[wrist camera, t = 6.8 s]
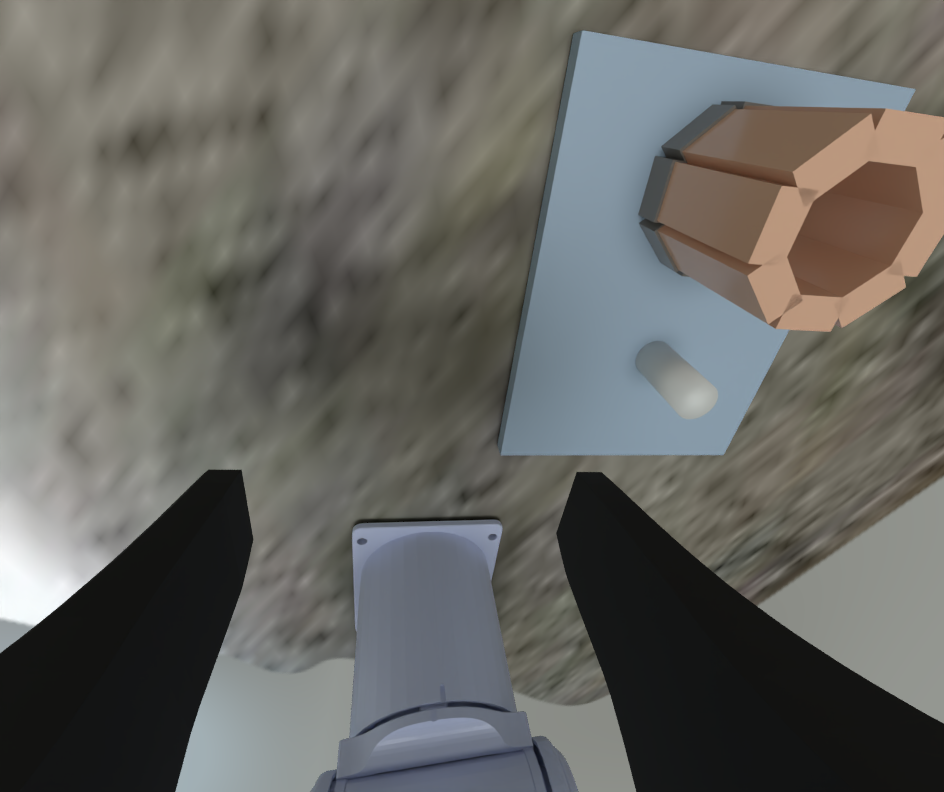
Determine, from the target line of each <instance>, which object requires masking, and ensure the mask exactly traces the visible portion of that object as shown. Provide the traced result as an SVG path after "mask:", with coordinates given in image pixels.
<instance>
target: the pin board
mask: <svg viewBox="0 0 944 792" xmlns="http://www.w3.org/2000/svg"><path fill="white" fill-rule="evenodd" d="M915 90H916V89H911V88H906V87H900V86H894V85H889V84H883V83H877V82H872V81H866V80H860V79H855V78H849V77H843V76H838V75H832V74H826V73H821V72H815V71H810V70H804V69H798V68H793V67H787V66H781V65H776V64H770V63H764V62H759V61H753V60H747V59H742V58H736V57H730V56H725V55H719V54H713V53H708V52H702V51H697V50H691V49H685V48H680V47H674V46H668V45H663V44H657V43H651V42H646V41H640V40H634V39H629V38H623V37H617V36H612V35H606V34H601V33H595V32H589V31H584V30H582V31H579V32H576V33H574V34H573V39H572V44H571V50H570V55H569V60H568V66H567V71H566V77H565V82H564V87H563V93H562V98H561V104H560V109H559V114H558V120H557V125H556V131H555V136H554V141H553V147H552V152H551V158H550V163H549V169H548V174H547V179H546V185H545V190H544V196H543V201H542V206H541V212H540V217H539V223H538V228H537V233H536V239H535V244H534V250H533V255H532V260H531V266H530V271H529V277H528V282H527V288H526V293H525V298H524V304H523V309H522V315H521V320H520V325H519V331H518V336H517V342H516V347H515V352H514V358H513V363H512V369H511V374H510V379H509V385H508V390H507V396H506V401H505V407H504V412H503V417H502V423H501V428H500V434H499V439H498V444H497V445H498V448H499V452H500V455H724V453H725V451H726V449H727V447H728V445H729V444H730V442H731V440H732V438H733V436H734V434H735V432H736V430H737V428H738V426H739V425H740V423H741V421H742V419H743V417H744V415H745V413H746V411H747V409H748V407H749V406H750V404H751V402H752V400H753V398H754V396H755V394H756V392H757V390H758V388H759V387H760V385H761V383H762V381H763V379H764V377H765V375H766V373H767V371H768V369H769V367H770V366H771V364H772V362H773V360H774V358H775V356H776V354H777V352H778V350H779V348H780V347H781V345H782V343H783V341H784V339H785V337H786V335H787V333H788V331H789V330H787V329H775V328H773V327H772V326H770V325H768V324H767V323H765V322H763V321H762V320H760V319H758V318H757V317H755V316H753V315H752V314H750V313H748V312H747V311H745V310H743V309H742V308H740V307H739V306H737V305H735V304H734V303H732V302H730V301H729V300H727V299H725V298H724V297H722V296H720V295H719V294H717V293H715V292H714V291H712V290H710V289H709V288H707V287H705V286H704V285H702V284H701V283H699V282H697V281H696V280H694V279H692V278H691V277H684V276H681V275H679V274H678V273H676V272H674V271H673V270H671V269H669V268H668V267H666V266H665V265H663V264H661V263H660V261H659V260H658V258H657V256H656V254H655V252H654V250H653V249H652V247H651V245H650V243H649V241H648V240H647V238H646V236H645V234H644V232H643V230H642V229H641V227H640V225H639V223H640V222H641V221H642V220H644V219H645V218H644V217H642V216H639V215H638V213H639V210H640V206H641V203H642V199H643V196H644V192H645V189H646V185H647V182H648V179H649V175H650V172H651V168H652V165H653V161H654V158H655V156H661V157H666V156H665V154H664V152H663V150H662V147H661V146H662V145H664V144H665V143H666V142H667V141H668V140H670V139H671V138H672V137H673V136H674V135H676V134H677V133H678V132H679V131H681V130H682V129H683V128H684V127H685V126H687V125H688V124H689V123H690V122H692V121H693V120H694V119H695V118H696V117H698V116H699V115H700V114H701V113H703V112H704V111H705V110H706V109H707V108H709V107H710V106H711V105H712V104H716V105H721V102H722V101H746V102H752V103H759V104H766V105H772V106H792V107H841V108H887V109H893V110H900V111H905V109H906V107H907V105H908V103H909V101H910V99H911V97H912V95H913V94H914V92H915Z"/></svg>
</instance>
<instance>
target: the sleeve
mask: <svg viewBox="0 0 944 792" xmlns="http://www.w3.org/2000/svg"><path fill="white" fill-rule="evenodd" d="M661 147H662V150H663V152H664V154H665V156H666V157H661V156H655V158H654V161H653V165H652V168H651V172H650V175H649V179H648V182H647V185H646V189H645V192H644V196H643V199H642V203H641V206H640V210H639V213H638V215H639V216H642V217H644V218H645V219H644V220H642V221H641V222H640V223H639V225H640V227H641V229H642V230H643V232H644V234H645V236H646V238H647V240H648V241H649V243H650V245H651V247H652V249H653V250H654V252H655V254H656V256H657V258H658V260H659V261H660V263H661V264H663V265H665V266H666V267H668V268H669V269H671V270H673V271H674V272H676V273H678V274H679V275H681V276H684V277H691V278H692V279H694V280H696V281H697V282H699V283H701V284H702V285H704V286H705V287H707V288H709V289H710V290H712V291H714V292H715V293H717V294H719V295H720V296H722V297H724V298H725V299H727V300H729V301H730V302H732V303H734V304H735V305H737V306H739V307H740V308H742V309H743V310H745V311H747V312H748V313H750V314H752V315H753V316H755V317H757V318H758V319H760V320H762V321H763V322H765V323H767V324H768V325H770V326H772V327H773V328H775V329H787V330H807V331H828V332H831V330H832V328H833V326H834V325H837V326H839V327H841V328H843V327H844V326H846V325H847V324H849V323H851V322H852V321H854V320H855V319H857V318H858V317H860V316H862V315H863V314H865V313H866V312H868V311H869V310H871V309H873V308H874V307H876V306H877V305H879V304H880V303H882V302H884V301H885V300H887V299H888V298H890V297H891V296H893V295H895V294H896V293H898V292H899V291H901V290H902V289H904V288H906V285H905V280H904V276H913V277H917V275H918V274H919V272H920V270H921V269H922V267H923V266H924V264H925V263H926V261H927V259H928V258H929V256H930V255H931V253H932V252H933V250H934V248H935V247H936V245H937V244H938V242H939V241H940V239H941V237H942V236H943V234H944V117H938V116H932V115H925V114H919V113H912V112H906V111H900V110H893V109H887V108H841V107H792V106H772V105H766V104H759V103H752V102H746V101H722V102H721V105H716V104H712V105H711V106H710V107H709V108H707V109H706V110H705V111H704V112H703V113H701V114H700V115H699V116H698V117H696V118H695V119H694V120H693V121H692V122H690V123H689V124H688V125H687V126H685V127H684V128H683V129H682V130H681V131H679V132H678V133H677V134H676V135H674V136H673V137H672V138H671V139H670V140H668V141H667V142H666V143H665V144H664V145H662V146H661Z"/></svg>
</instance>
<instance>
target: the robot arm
mask: <svg viewBox="0 0 944 792" xmlns="http://www.w3.org/2000/svg"><path fill="white" fill-rule="evenodd" d="M490 534H492V535H490ZM556 534H557V538H558V543H559V547H560V552H561V556H562V560H563V564H564V568H565V572H566V575H567V578H568V581H569V584H570V587H571V589H572V592H573V595H574V597H575V600H576V603H577V606H578V608H579V611H580V614H581V616H582V619H583V621H584V624H585V627H586V629H587V632H588V635H589V637H590V640H591V642H592V645H593V648H594V650H595V653H596V656H597V658H598V661H599V664H600V666H601V669H602V671H603V674H604V677H605V680H606V683H607V686H608V689H609V692H610V695H611V698H612V702H613V705H614V709H615V713H616V716H617V720H618V724H619V727H620V731H621V734H622V737H623V742H624V745H625V748H626V753H627V757H628V761H629V764H630V768H631V772H632V776H633V780H634V784H635V788H636V792H944V724H943V723H942V722H940V721H938V720H936V719H934V718H932V717H930V716H928V715H927V714H925V713H923V712H921V711H920V710H918V709H916V708H914V707H913V706H911V705H909V704H908V703H906V702H904V701H902V700H900V699H899V698H897V697H896V696H894V695H892V694H890V693H889V692H887V691H885V690H883V689H882V688H880V687H878V686H876V685H875V684H873V683H872V682H870V681H868V680H867V679H865V678H863V677H862V676H860V675H858V674H857V673H855V672H853V671H852V670H850V669H849V668H847V667H845V666H844V665H842V664H841V663H839V662H837V661H836V660H834V659H833V658H831V657H830V656H828V655H827V654H825V653H824V652H822V651H821V650H819V649H818V648H816V647H814V646H813V645H811V644H810V643H808V642H807V641H805V640H804V639H802V638H801V637H799V636H798V635H796V634H795V633H793V632H792V631H790V630H789V629H788V628H786V627H785V626H783V625H782V624H780V623H779V622H778V621H776V620H775V619H773V618H772V617H770V616H769V615H768V614H767V613H765V612H764V611H763V610H761V609H760V608H758V607H757V606H756V605H754V604H753V603H752V602H750V601H749V600H748V599H746V598H745V597H744V596H742V595H741V594H740V593H738V592H737V591H736V590H734V589H733V588H732V587H731V586H729V585H728V584H727V583H726V582H724V581H723V580H722V579H721V578H719V577H718V576H717V575H716V574H715V573H713V572H712V571H711V570H710V569H709V568H707V567H706V566H705V565H704V564H702V563H701V562H700V561H699V560H698V559H696V558H695V557H694V556H693V555H692V554H691V553H690V552H688V551H687V550H686V549H685V548H684V547H683V546H681V545H680V544H679V543H678V542H677V541H676V540H675V539H674V538H672V537H671V536H670V535H669V534H668V533H667V532H666V531H665V530H664V529H662V528H661V527H660V526H659V525H658V524H657V523H656V522H655V521H654V520H653V519H652V518H651V517H649V516H648V515H647V514H646V513H645V512H644V511H643V510H642V509H641V508H640V507H639V506H638V505H637V504H636V503H634V502H633V501H632V500H631V499H630V498H629V497H628V496H627V495H626V494H625V493H624V492H623V491H622V490H621V489H620V488H618V487H617V486H616V485H615V484H614V483H613V482H612V481H611V480H610V479H609V478H607V477H606V476H605V475H604V474H603V473H602V472H577V473H576V476H575V479H574V482H573V485H572V488H571V491H570V494H569V497H568V500H567V503H566V506H565V509H564V512H563V515H562V518H561V521H560V524H559V527H558V530H557V533H556ZM501 535H502V524H501V522H500V521H498V520H459V521H423V522H387V523H360V524H357V525H355V526H354V527H353V530H352V550H353V579H354V609H355V630H356V631H357V637H356V651H355V666H354V680H353V694H352V708H351V722H350V736H349V738H347V739H343V740H341V741H340V742H339V751H338V763H337V769H336V770H330V771H326V772H324V773H322V774H321V775H320V776H319V778H318V780H317V781H316V783H315V786H314V787H313V788H312V790H311V791H310V792H578V789H577V786H576V783H575V780H574V777H573V775H572V772H571V770H570V767H569V765H568V763H567V761H566V759H565V758H564V756H563V755H562V754H561V752H559V751H558V750H557V749H556V748H555V747H554V746H553V745H552V744H551V742H550V741H549V740H548V739H547V738H546V737H544V736H537V737H531V734H530V729H529V724H528V719H527V715H526V712H524V711H521V712H517V710H516V704H515V699H514V694H513V689H512V684H511V679H510V674H509V669H508V664H507V659H506V654H505V649H504V644H503V639H502V634H501V629H500V624H499V619H498V614H497V609H496V604H495V599H494V594H493V589H492V584H491V580H492V575H493V571H494V566H495V562H496V557H497V553H498V548H499V544H500V539H501ZM360 538H364V539H360ZM252 543H253V535H252V529H251V523H250V517H249V511H248V506H247V500H246V494H245V488H244V482H243V476H242V470H208V471H206V472H205V473H204V474H203V475H202V476H201V477H200V478H199V479H198V480H197V481H196V482H195V483H194V484H193V485H192V486H191V487H190V488H189V489H188V490H187V491H186V492H184V493H183V494H182V495H181V496H180V497H179V498H178V499H177V500H176V501H175V502H174V503H173V504H172V505H171V506H170V507H169V508H168V509H167V510H166V511H165V512H164V513H163V514H162V515H161V516H160V517H159V518H158V519H157V520H156V521H155V522H154V523H153V524H152V525H151V526H150V527H148V528H147V529H146V530H145V531H144V532H143V533H142V534H141V535H140V536H139V537H138V538H137V539H136V540H134V541H133V542H132V543H131V544H130V545H129V546H128V547H127V548H126V549H125V550H124V551H123V552H122V553H121V554H119V555H118V556H117V557H116V558H115V559H114V560H113V561H112V562H111V563H109V564H108V565H107V566H106V567H105V568H104V569H103V570H101V571H100V572H99V573H98V574H97V575H96V576H94V577H93V578H92V579H91V580H90V581H89V582H88V583H86V584H85V585H84V586H83V587H82V588H81V589H79V590H78V591H77V592H76V593H75V594H74V595H72V596H71V597H70V598H69V599H68V600H67V601H65V602H64V603H63V604H62V605H61V606H59V607H58V608H57V609H56V610H55V611H53V612H52V613H51V614H50V615H48V616H47V617H46V618H45V619H43V620H42V621H41V622H40V623H39V624H37V625H36V626H35V627H34V628H32V629H31V630H30V631H28V632H27V633H26V634H25V635H23V636H22V637H21V638H20V639H18V640H17V641H16V642H14V643H13V644H12V645H10V646H9V647H8V648H6V649H5V650H4V651H3V652H1V653H0V792H175V791H176V787H177V783H178V779H179V776H180V772H181V768H182V764H183V761H184V757H185V753H186V749H187V745H188V742H189V738H190V734H191V731H192V728H193V725H194V722H195V719H196V716H197V712H198V709H199V706H200V704H201V701H202V698H203V695H204V692H205V690H206V687H207V684H208V681H209V679H210V676H211V673H212V670H213V668H214V665H215V662H216V659H217V657H218V654H219V651H220V648H221V646H222V643H223V640H224V637H225V635H226V632H227V629H228V626H229V623H230V621H231V618H232V615H233V612H234V609H235V607H236V604H237V601H238V598H239V595H240V592H241V590H242V586H243V582H244V578H245V574H246V570H247V565H248V561H249V556H250V552H251V547H252Z"/></svg>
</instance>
